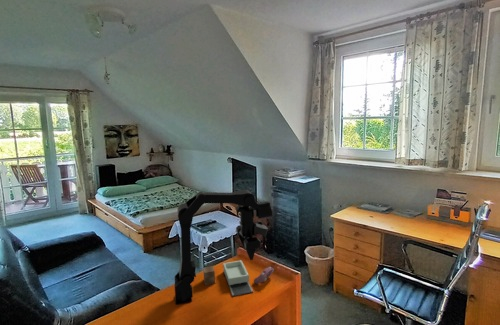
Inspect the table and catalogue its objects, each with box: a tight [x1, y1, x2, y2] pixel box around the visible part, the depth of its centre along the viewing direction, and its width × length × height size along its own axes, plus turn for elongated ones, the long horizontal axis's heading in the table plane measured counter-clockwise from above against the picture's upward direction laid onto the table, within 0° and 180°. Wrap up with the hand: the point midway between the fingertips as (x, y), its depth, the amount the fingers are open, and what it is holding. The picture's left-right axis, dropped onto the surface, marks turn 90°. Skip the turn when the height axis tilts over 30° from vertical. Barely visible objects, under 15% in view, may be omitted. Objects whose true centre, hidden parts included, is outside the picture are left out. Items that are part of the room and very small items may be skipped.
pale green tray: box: [222, 259, 250, 285], centre depth 134 cm, size 9×14×4 cm, turn 15°
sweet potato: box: [253, 266, 275, 285], centre depth 132 cm, size 10×5×7 cm, turn 145°
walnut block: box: [202, 265, 216, 286], centre depth 132 cm, size 4×4×6 cm
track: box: [223, 271, 254, 298], centre depth 132 cm, size 9×20×1 cm, turn 15°
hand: (248, 254), depth 126 cm, fingers open, 9 cm apart
